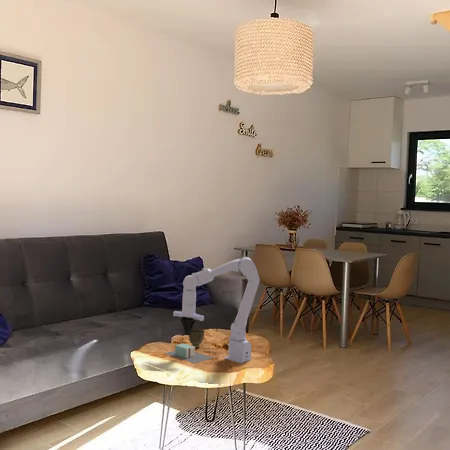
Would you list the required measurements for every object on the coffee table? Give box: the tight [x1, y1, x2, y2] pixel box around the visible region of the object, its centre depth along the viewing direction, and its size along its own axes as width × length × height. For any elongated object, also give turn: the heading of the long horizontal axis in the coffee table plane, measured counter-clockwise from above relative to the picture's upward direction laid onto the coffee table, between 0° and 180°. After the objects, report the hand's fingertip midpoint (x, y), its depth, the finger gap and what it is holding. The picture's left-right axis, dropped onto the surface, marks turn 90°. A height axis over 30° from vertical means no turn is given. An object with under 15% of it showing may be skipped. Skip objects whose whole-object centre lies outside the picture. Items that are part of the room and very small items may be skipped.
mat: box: [164, 350, 214, 364], centre depth 235 cm, size 18×12×1 cm, turn 50°
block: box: [174, 343, 196, 358], centre depth 235 cm, size 4×5×7 cm
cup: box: [188, 327, 205, 348], centre depth 250 cm, size 8×7×8 cm
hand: (187, 334), depth 234 cm, fingers closed
